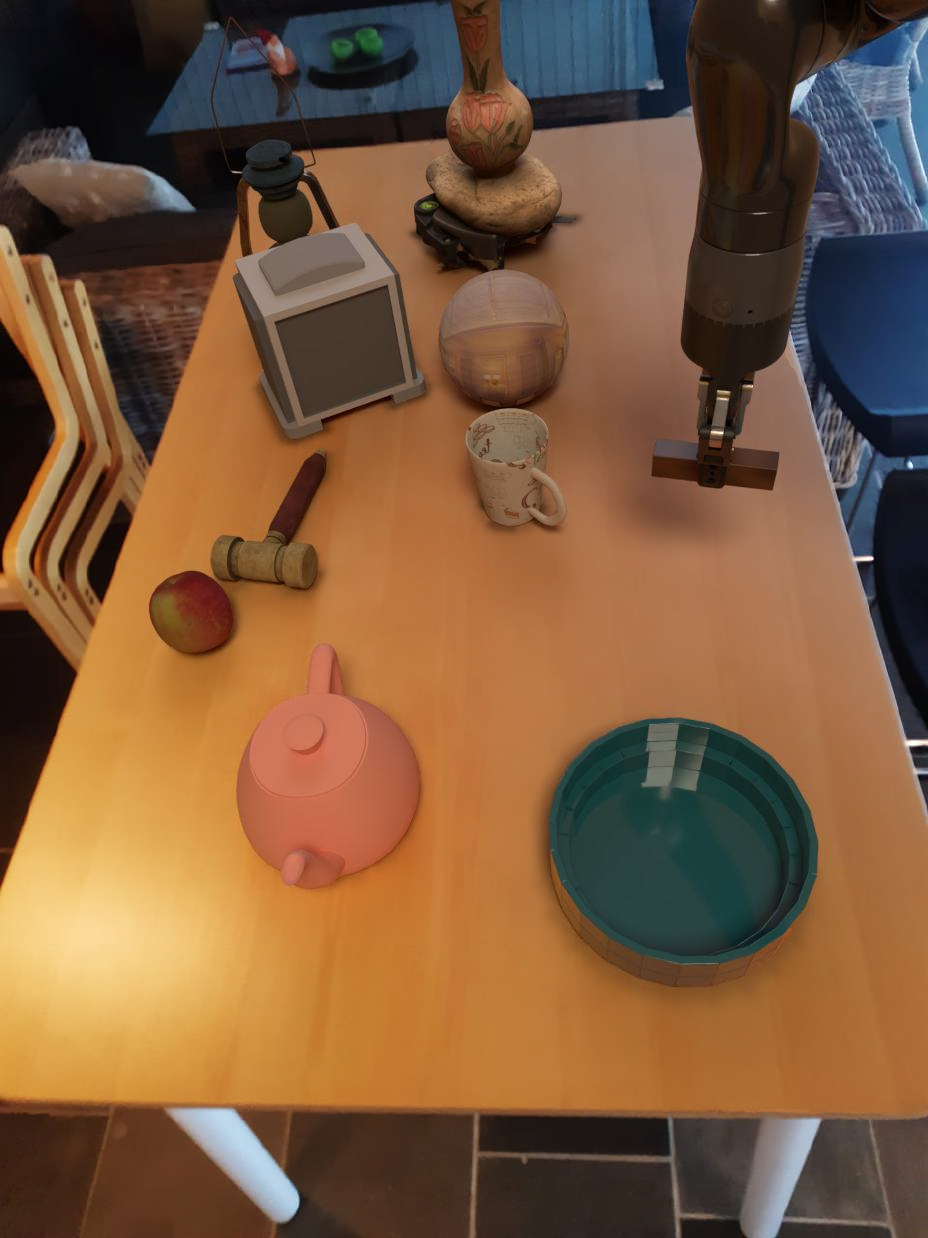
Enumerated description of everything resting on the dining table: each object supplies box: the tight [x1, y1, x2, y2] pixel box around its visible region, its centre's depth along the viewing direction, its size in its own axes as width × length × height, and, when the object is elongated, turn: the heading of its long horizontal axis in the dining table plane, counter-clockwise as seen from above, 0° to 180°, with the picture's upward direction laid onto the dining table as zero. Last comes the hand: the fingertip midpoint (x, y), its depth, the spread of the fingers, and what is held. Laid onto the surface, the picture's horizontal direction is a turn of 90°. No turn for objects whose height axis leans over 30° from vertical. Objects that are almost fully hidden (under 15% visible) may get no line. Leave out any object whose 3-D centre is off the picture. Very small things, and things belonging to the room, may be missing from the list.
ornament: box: [438, 269, 570, 407], centre depth 101 cm, size 15×15×15 cm
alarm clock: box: [232, 221, 427, 440], centre depth 104 cm, size 18×13×18 cm
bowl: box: [548, 717, 819, 988], centre depth 67 cm, size 19×19×6 cm
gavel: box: [209, 447, 327, 589], centre depth 96 cm, size 21×5×10 cm
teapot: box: [235, 643, 421, 890], centre depth 70 cm, size 22×15×12 cm
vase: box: [413, 0, 577, 272], centre depth 116 cm, size 24×22×35 cm
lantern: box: [209, 16, 341, 258], centre depth 111 cm, size 14×12×35 cm
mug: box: [464, 408, 568, 527], centre depth 90 cm, size 8×13×10 cm, turn 43°
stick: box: [650, 438, 780, 492], centre depth 74 cm, size 10×2×2 cm, turn 73°
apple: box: [148, 570, 234, 654], centre depth 85 cm, size 8×8×8 cm
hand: (712, 472), depth 74 cm, fingers closed on stick, 2 cm apart
